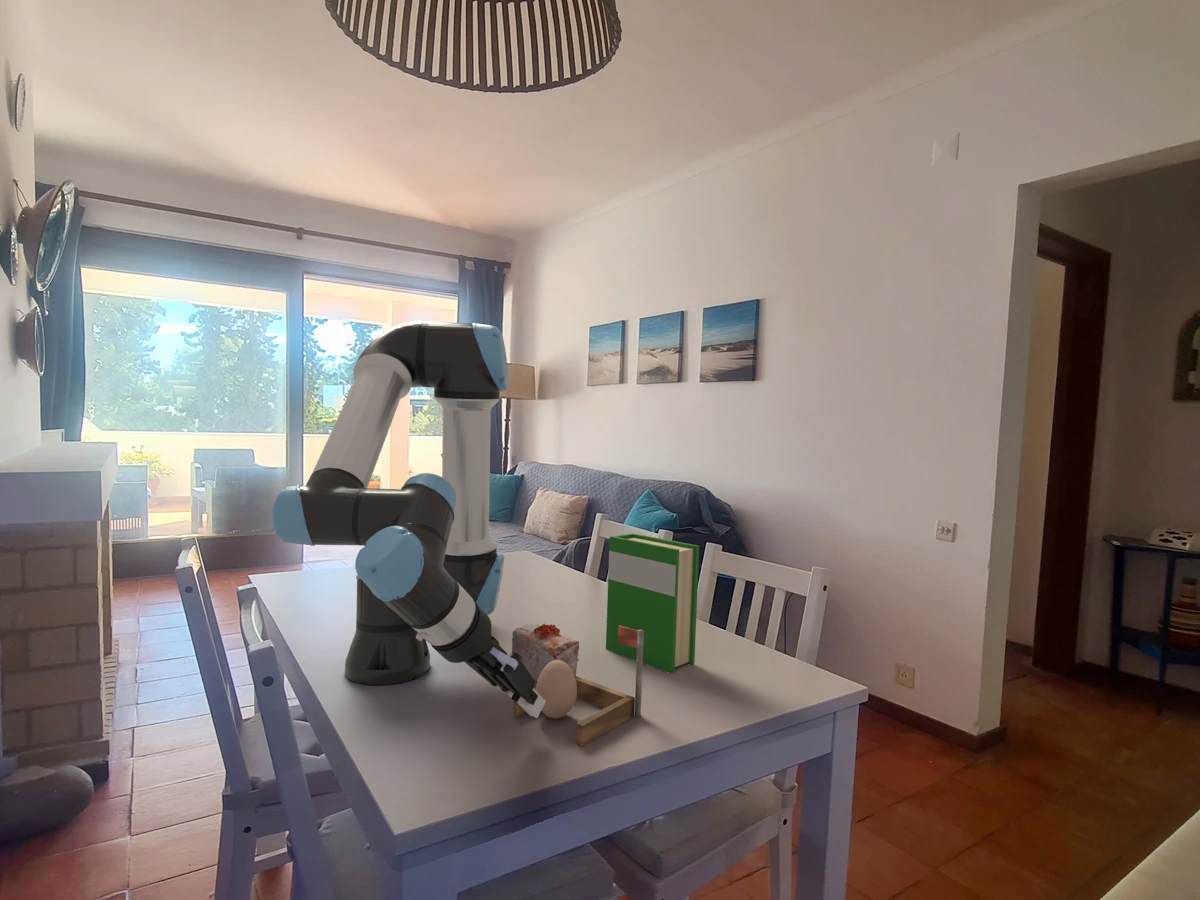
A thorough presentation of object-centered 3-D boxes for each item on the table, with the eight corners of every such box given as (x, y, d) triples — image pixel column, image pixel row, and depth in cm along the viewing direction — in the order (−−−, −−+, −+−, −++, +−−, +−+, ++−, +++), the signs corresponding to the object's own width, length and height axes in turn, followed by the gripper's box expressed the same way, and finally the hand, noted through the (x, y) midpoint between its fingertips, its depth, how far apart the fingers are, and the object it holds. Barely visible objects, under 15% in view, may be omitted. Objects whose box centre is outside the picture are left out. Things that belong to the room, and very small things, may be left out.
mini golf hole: (513, 715, 99) (516, 628, 99) (571, 688, 110) (573, 610, 110) (586, 748, 90) (589, 653, 89) (641, 715, 101) (645, 630, 100)
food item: (584, 683, 113) (586, 629, 113) (552, 695, 107) (554, 639, 107) (535, 662, 122) (537, 612, 122) (503, 672, 117) (505, 620, 116)
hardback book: (694, 664, 124) (699, 545, 123) (671, 674, 118) (676, 549, 118) (629, 641, 136) (633, 533, 135) (605, 649, 131) (609, 536, 130)
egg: (579, 725, 97) (582, 667, 96) (537, 728, 95) (540, 669, 95) (571, 706, 103) (573, 652, 103) (532, 709, 101) (534, 654, 101)
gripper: (403, 635, 81) (494, 718, 95) (468, 661, 73) (557, 747, 87) (437, 588, 85) (520, 674, 99) (503, 607, 77) (583, 697, 91)
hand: (537, 708), depth 93 cm, fingers closed
